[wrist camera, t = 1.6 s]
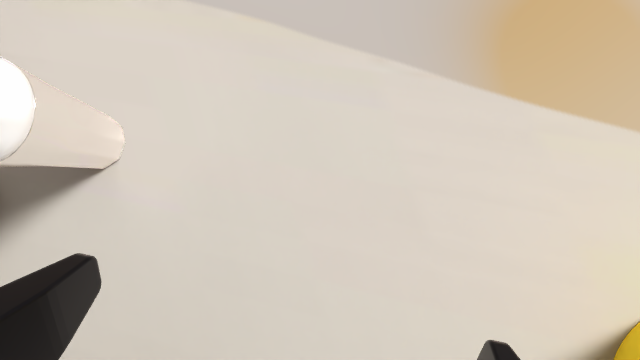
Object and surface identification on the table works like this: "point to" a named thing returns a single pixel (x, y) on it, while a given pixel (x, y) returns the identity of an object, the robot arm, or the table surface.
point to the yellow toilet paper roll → (630, 346)
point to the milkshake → (52, 125)
